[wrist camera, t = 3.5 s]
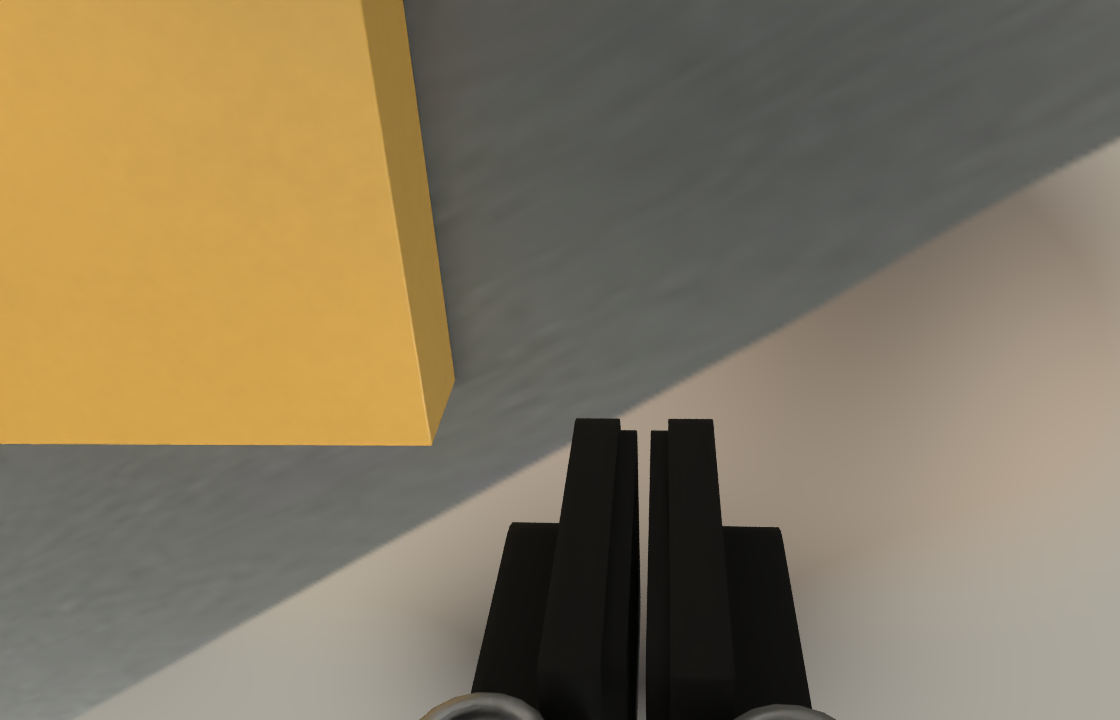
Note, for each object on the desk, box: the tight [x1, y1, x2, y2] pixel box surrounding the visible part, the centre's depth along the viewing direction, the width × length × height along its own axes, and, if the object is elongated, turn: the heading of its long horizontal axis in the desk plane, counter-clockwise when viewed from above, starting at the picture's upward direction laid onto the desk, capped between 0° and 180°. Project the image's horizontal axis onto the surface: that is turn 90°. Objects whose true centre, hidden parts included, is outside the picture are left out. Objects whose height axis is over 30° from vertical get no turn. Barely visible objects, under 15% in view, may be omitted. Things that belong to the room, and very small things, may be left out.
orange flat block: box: [0, 0, 455, 446], centre depth 21 cm, size 15×11×3 cm
